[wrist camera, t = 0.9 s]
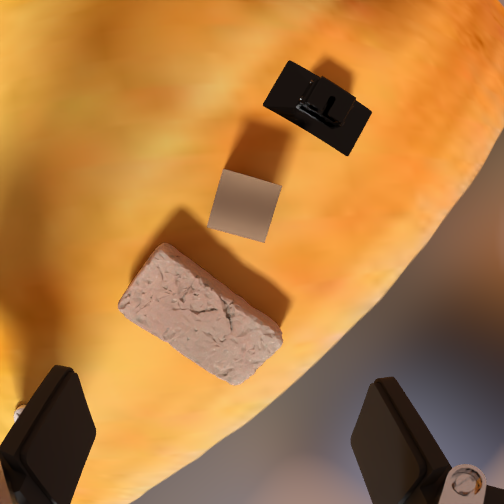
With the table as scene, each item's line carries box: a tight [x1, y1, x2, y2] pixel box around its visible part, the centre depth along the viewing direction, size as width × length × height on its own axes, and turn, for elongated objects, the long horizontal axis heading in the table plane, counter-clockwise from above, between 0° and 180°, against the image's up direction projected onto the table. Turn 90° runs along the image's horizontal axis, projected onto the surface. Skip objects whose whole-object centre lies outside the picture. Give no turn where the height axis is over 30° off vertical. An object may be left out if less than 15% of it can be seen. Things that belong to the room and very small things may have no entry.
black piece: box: [263, 60, 372, 156], centre depth 28 cm, size 13×8×5 cm, turn 61°
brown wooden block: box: [207, 169, 282, 243], centre depth 29 cm, size 5×5×6 cm
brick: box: [118, 243, 283, 385], centre depth 33 cm, size 16×8×5 cm, turn 50°
